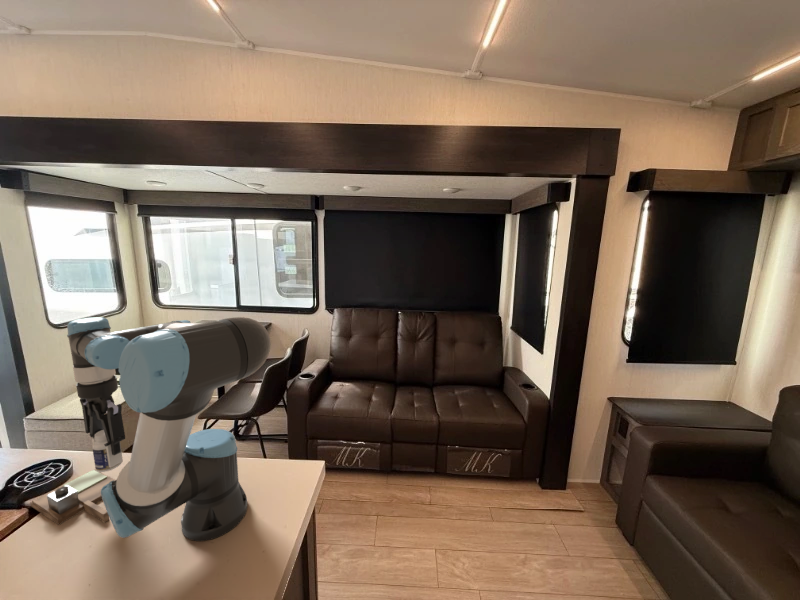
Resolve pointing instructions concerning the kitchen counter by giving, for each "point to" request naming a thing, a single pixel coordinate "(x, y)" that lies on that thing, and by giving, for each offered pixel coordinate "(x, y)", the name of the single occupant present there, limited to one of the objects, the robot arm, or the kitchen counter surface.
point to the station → (87, 495)
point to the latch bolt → (63, 499)
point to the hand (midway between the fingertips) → (109, 460)
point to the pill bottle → (101, 453)
